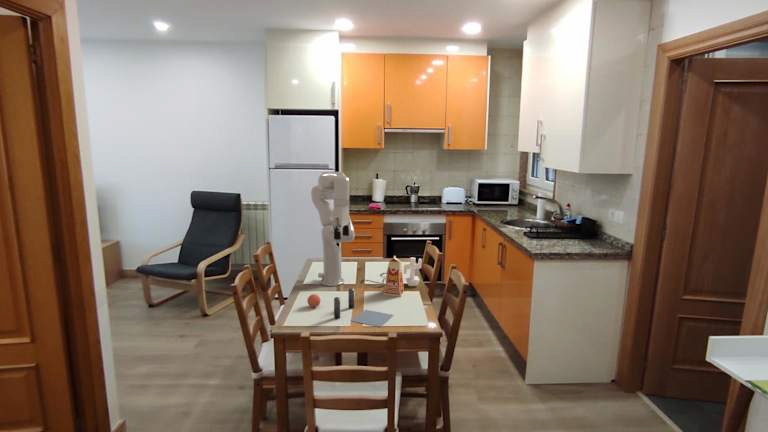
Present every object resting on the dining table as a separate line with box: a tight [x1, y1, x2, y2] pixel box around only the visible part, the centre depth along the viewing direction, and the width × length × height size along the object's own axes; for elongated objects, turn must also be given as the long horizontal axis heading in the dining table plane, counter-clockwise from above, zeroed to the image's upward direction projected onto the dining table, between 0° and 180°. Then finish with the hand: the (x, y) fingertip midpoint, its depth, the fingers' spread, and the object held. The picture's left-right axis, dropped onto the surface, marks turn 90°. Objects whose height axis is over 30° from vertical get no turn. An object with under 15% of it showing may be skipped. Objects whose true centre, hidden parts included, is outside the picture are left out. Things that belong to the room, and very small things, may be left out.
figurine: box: [403, 257, 423, 287], centre depth 238 cm, size 7×9×15 cm
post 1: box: [333, 297, 341, 320], centre depth 193 cm, size 3×3×9 cm
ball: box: [307, 293, 322, 308], centre depth 206 cm, size 6×6×6 cm
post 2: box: [347, 287, 355, 310], centre depth 205 cm, size 3×3×9 cm
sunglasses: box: [360, 272, 387, 287], centre depth 245 cm, size 17×15×5 cm
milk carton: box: [383, 255, 405, 297], centre depth 225 cm, size 9×9×20 cm
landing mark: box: [350, 309, 394, 328], centre depth 195 cm, size 14×14×1 cm
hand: (341, 237), depth 217 cm, fingers open, 9 cm apart
